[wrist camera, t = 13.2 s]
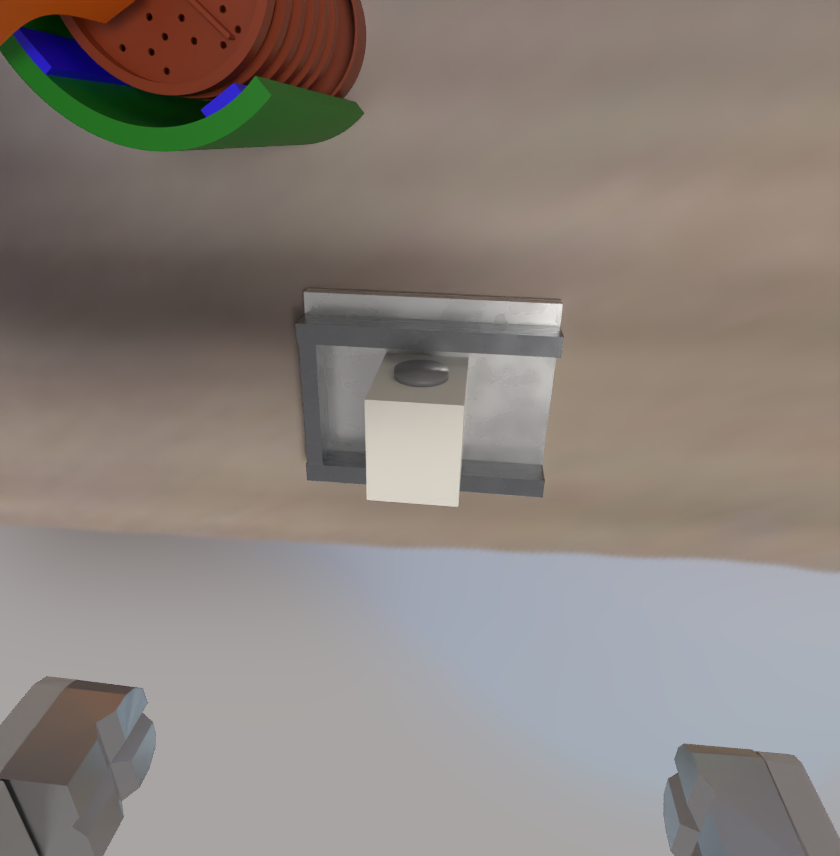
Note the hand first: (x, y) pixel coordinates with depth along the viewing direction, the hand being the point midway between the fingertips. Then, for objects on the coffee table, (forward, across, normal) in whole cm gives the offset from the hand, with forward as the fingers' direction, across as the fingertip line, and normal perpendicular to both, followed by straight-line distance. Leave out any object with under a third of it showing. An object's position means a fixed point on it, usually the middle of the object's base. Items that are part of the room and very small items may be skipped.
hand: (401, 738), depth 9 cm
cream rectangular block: (+28, +2, +7) cm, 29 cm away
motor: (+29, +10, -12) cm, 33 cm away
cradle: (+29, +2, +7) cm, 30 cm away
